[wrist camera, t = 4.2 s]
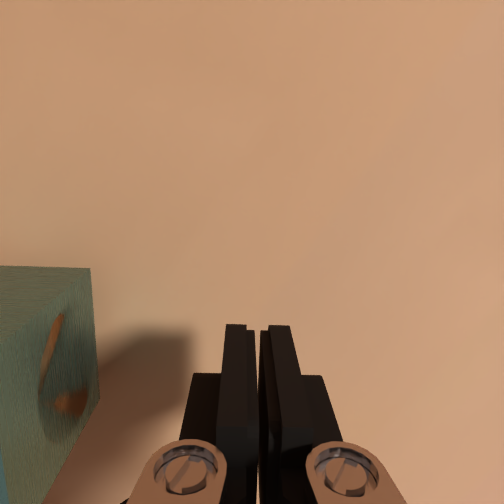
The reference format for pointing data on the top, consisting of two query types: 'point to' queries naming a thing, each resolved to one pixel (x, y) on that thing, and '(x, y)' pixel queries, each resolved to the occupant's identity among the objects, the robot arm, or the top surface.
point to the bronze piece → (43, 375)
